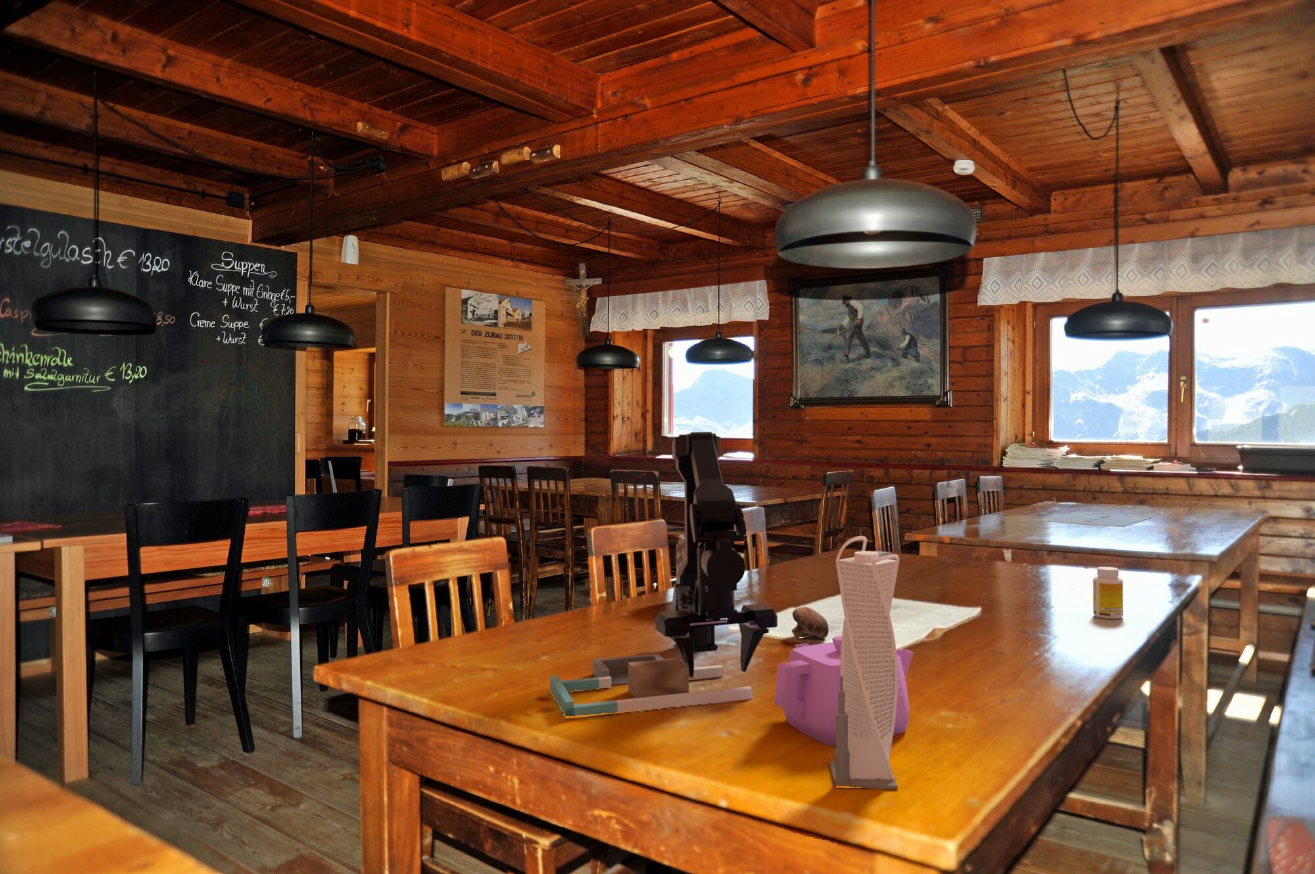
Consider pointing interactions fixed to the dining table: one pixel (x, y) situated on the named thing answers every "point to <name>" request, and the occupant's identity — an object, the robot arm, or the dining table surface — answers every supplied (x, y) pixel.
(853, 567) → the skyscraper
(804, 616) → the mushroom
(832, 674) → the teakettle
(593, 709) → the walled track with bay
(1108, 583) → the supplement bottle
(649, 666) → the block
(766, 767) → the dining table surface
